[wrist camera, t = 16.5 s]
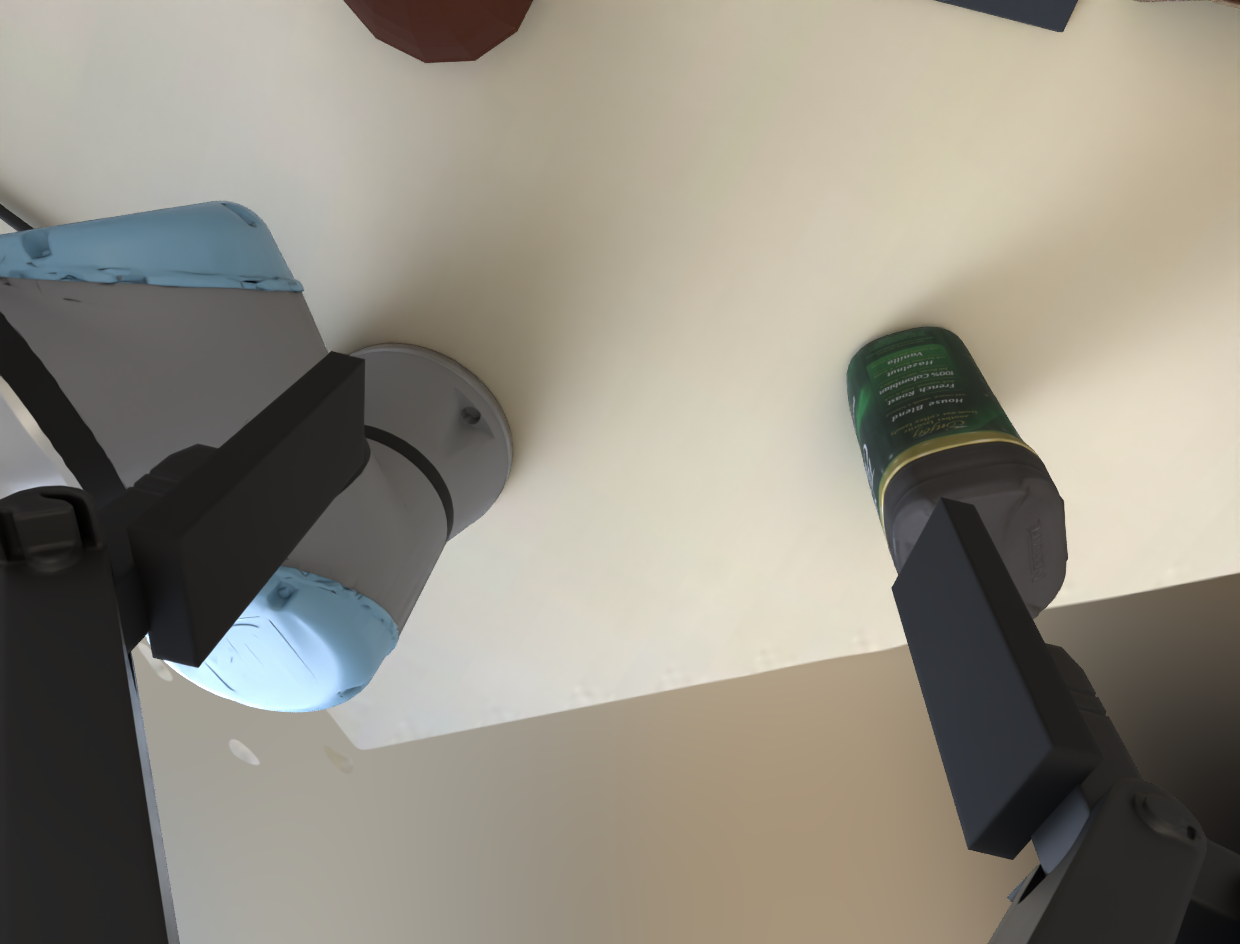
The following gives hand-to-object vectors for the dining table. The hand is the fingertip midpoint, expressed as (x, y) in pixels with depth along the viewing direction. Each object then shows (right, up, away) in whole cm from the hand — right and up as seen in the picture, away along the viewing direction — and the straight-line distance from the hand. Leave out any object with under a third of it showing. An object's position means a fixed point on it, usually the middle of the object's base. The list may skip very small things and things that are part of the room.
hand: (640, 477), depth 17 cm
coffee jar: (+19, +5, +33) cm, 38 cm away
